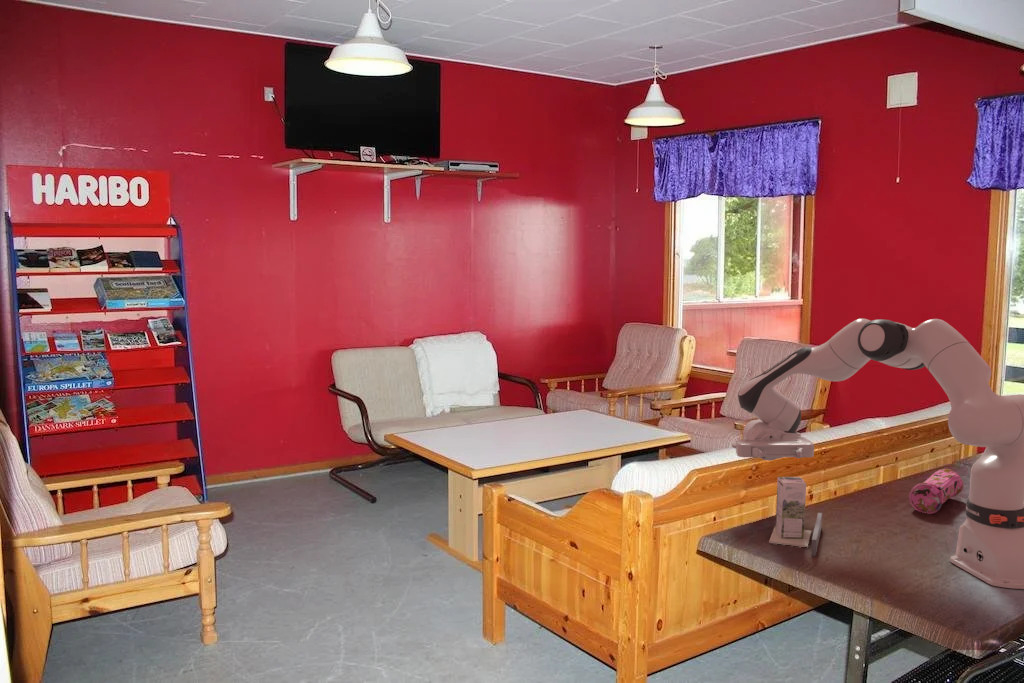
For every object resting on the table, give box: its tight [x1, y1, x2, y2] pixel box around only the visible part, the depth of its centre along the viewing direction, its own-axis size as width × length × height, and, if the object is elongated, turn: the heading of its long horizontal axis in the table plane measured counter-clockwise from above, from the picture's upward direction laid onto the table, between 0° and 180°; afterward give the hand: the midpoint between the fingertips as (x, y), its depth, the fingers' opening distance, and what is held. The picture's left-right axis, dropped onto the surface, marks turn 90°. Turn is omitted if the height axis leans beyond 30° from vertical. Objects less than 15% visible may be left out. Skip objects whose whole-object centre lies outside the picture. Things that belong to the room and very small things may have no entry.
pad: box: [768, 525, 812, 549], centre depth 217 cm, size 9×12×1 cm
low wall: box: [810, 512, 823, 557], centre depth 214 cm, size 1×22×4 cm, turn 157°
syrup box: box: [775, 476, 807, 539], centre depth 216 cm, size 6×6×14 cm
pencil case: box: [908, 468, 964, 515], centre depth 243 cm, size 21×9×9 cm, turn 139°
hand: (781, 455), depth 226 cm, fingers open, 8 cm apart
